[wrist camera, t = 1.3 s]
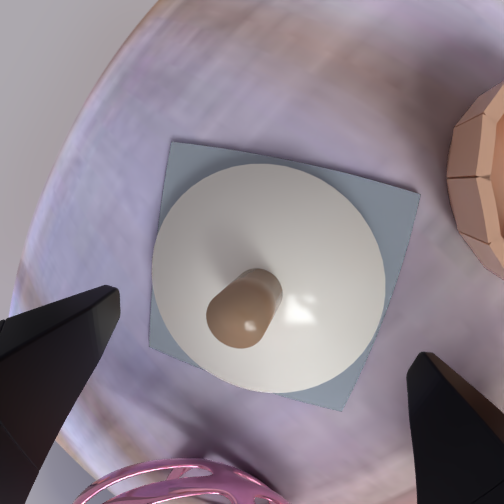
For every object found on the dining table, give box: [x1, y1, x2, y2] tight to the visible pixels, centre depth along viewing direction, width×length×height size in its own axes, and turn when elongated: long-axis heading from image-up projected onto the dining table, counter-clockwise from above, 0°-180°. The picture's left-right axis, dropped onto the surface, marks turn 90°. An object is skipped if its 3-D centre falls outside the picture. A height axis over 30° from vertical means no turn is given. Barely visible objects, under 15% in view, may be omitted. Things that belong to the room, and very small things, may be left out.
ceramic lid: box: [152, 164, 385, 393], centre depth 20 cm, size 18×18×6 cm
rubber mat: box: [149, 142, 421, 412], centre depth 23 cm, size 19×19×1 cm
